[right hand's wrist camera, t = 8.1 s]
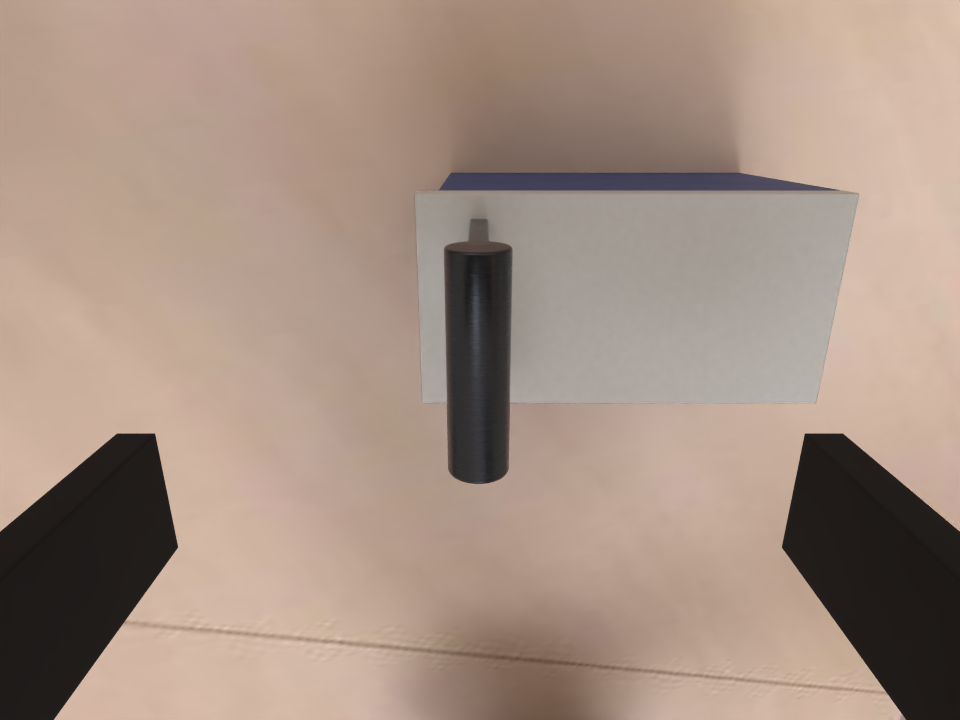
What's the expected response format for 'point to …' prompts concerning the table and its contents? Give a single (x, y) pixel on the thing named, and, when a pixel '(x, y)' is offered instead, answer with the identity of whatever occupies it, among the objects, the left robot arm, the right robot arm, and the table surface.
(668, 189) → the blue cabinet box
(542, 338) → the lid
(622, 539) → the table surface
